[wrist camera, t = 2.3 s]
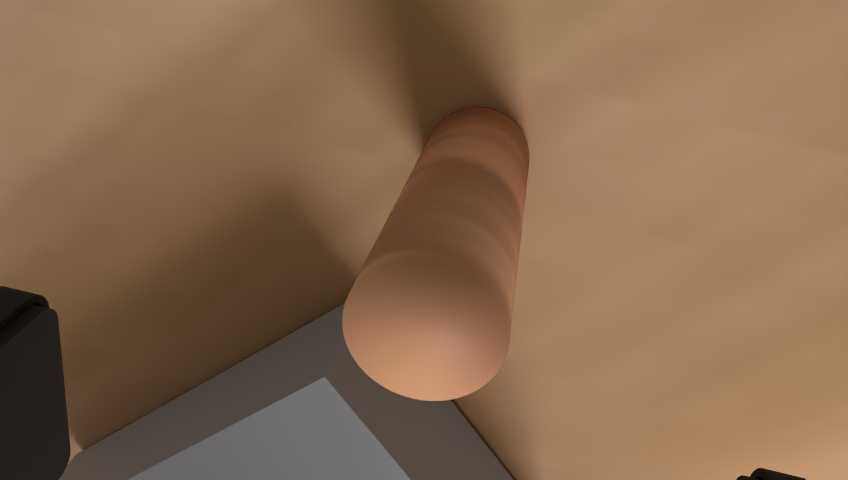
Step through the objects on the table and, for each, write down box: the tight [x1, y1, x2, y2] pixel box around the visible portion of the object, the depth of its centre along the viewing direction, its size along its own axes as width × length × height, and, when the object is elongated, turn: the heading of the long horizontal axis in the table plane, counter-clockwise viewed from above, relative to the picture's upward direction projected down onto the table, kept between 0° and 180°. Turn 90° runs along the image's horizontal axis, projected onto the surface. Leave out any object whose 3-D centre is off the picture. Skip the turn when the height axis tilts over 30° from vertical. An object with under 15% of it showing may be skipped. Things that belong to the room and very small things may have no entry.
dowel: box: [342, 107, 529, 401], centre depth 18 cm, size 3×3×10 cm
